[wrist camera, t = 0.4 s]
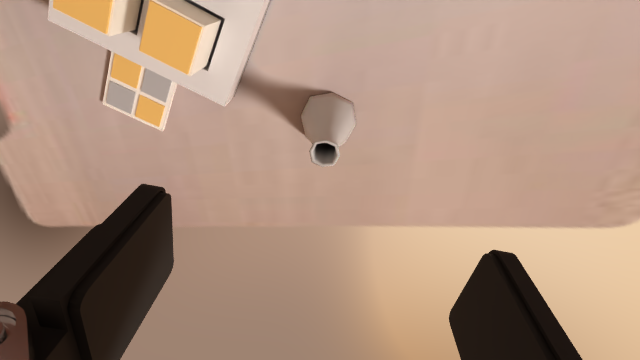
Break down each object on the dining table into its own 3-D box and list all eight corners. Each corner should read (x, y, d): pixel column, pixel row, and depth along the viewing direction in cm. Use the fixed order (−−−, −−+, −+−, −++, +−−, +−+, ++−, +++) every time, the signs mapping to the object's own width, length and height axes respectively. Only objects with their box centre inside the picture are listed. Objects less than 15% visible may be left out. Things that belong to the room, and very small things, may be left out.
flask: (298, 140, 46) (287, 178, 37) (303, 87, 42) (293, 116, 34) (351, 148, 46) (352, 187, 38) (361, 96, 42) (365, 127, 34)
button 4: (172, -6, 34) (148, -4, 30) (221, 20, 35) (203, 26, 31) (160, 42, 37) (136, 51, 33) (206, 65, 38) (188, 77, 34)
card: (115, 45, 41) (111, 46, 40) (179, 77, 43) (176, 78, 42) (105, 102, 45) (101, 104, 44) (164, 129, 46) (161, 131, 46)
